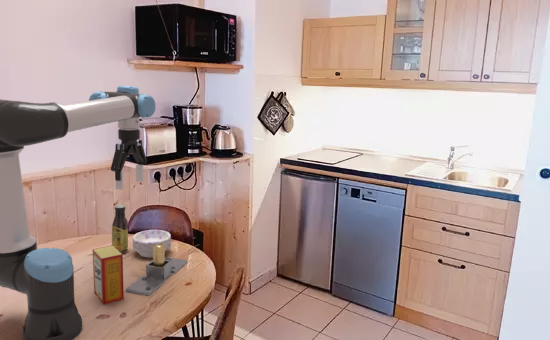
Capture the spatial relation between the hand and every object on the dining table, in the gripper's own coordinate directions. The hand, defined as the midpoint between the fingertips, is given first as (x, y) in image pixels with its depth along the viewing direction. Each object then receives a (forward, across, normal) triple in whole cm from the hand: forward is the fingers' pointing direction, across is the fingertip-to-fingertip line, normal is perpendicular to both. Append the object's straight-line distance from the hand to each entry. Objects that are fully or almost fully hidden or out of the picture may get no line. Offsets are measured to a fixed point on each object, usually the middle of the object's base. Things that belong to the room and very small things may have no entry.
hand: (130, 185), depth 165 cm
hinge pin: (+32, -6, -15) cm, 36 cm away
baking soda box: (+32, -25, -7) cm, 41 cm away
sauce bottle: (+32, +9, +11) cm, 35 cm away
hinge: (+32, -6, -15) cm, 36 cm away
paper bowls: (+32, +12, -2) cm, 34 cm away
